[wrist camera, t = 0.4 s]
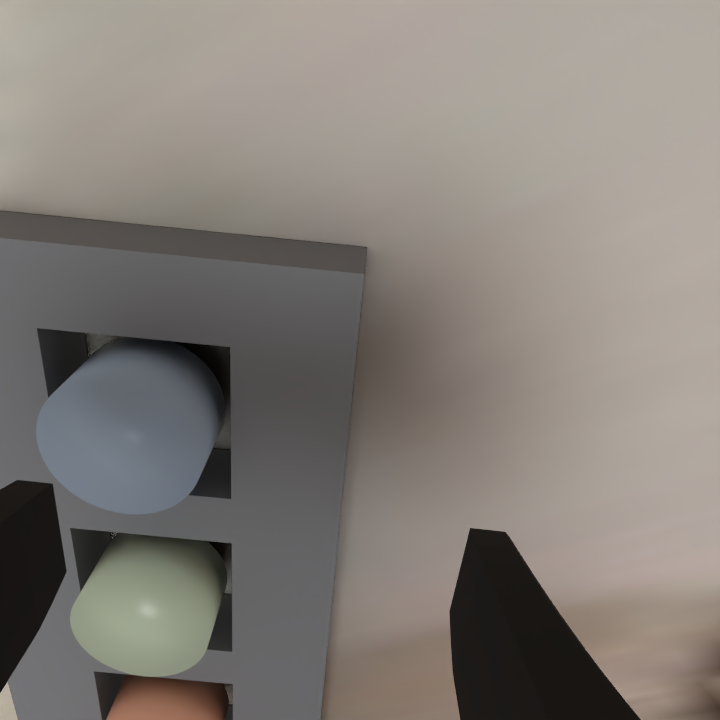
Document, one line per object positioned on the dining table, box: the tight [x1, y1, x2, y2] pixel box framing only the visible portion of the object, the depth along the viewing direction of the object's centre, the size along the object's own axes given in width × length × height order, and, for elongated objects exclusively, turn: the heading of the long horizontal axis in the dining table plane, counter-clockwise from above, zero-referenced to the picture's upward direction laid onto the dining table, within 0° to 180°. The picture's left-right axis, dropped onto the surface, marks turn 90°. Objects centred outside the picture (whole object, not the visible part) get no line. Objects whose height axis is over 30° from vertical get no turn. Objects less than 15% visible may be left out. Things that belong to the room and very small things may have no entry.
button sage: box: [70, 533, 227, 677], centre depth 20 cm, size 4×4×2 cm
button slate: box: [36, 337, 225, 515], centre depth 17 cm, size 4×4×2 cm
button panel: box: [0, 211, 367, 720], centre depth 21 cm, size 24×12×2 cm, turn 175°
